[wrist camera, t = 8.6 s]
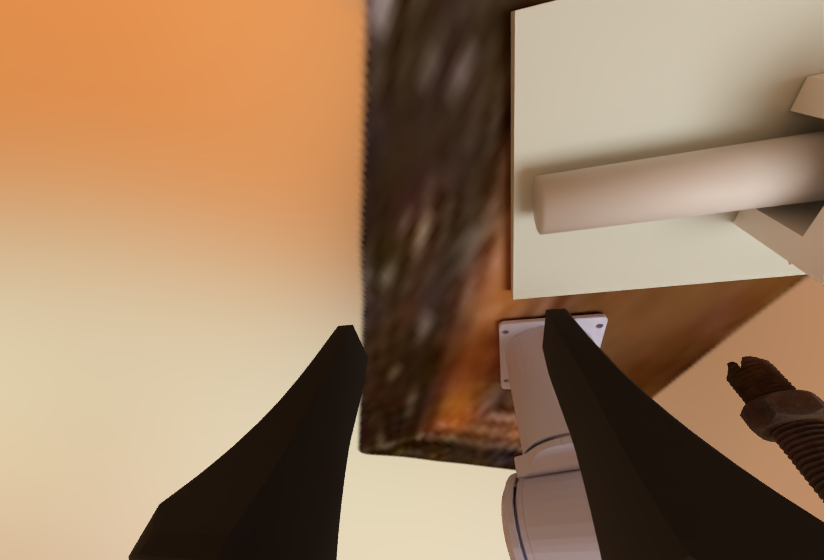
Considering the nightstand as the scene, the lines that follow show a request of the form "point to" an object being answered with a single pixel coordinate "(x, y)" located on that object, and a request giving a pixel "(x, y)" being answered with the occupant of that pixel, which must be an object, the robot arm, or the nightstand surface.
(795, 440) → the bolt
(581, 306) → the nightstand surface
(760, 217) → the sleeve
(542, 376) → the robot arm
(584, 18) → the pipe clamp
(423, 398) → the nightstand surface
